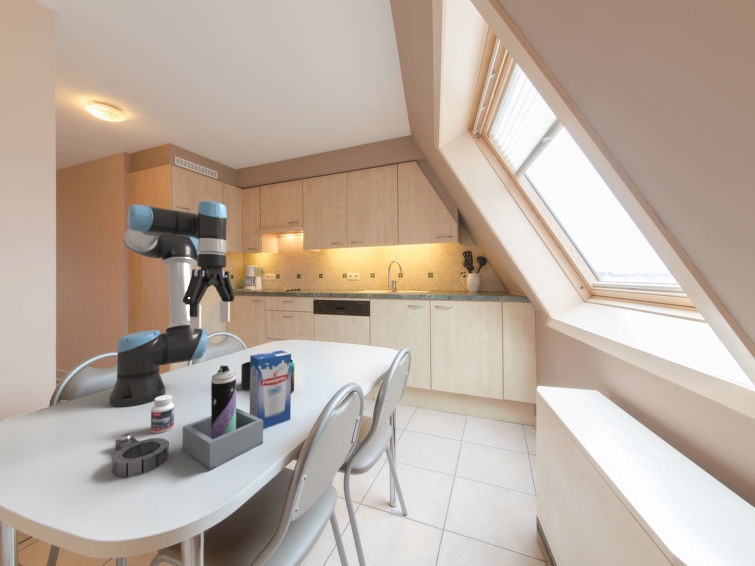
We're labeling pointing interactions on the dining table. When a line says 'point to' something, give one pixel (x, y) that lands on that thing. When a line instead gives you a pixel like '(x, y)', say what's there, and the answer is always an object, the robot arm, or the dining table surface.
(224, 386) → the spray can
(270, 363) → the milk carton
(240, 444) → the bin
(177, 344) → the robot arm
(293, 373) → the beverage can
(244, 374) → the mug
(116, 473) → the socket ring
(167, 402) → the pill bottle
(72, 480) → the dining table surface
